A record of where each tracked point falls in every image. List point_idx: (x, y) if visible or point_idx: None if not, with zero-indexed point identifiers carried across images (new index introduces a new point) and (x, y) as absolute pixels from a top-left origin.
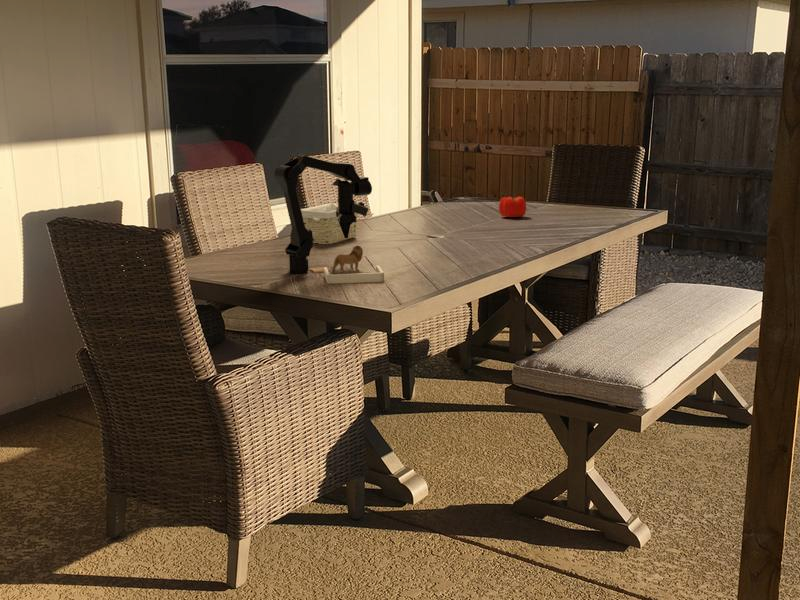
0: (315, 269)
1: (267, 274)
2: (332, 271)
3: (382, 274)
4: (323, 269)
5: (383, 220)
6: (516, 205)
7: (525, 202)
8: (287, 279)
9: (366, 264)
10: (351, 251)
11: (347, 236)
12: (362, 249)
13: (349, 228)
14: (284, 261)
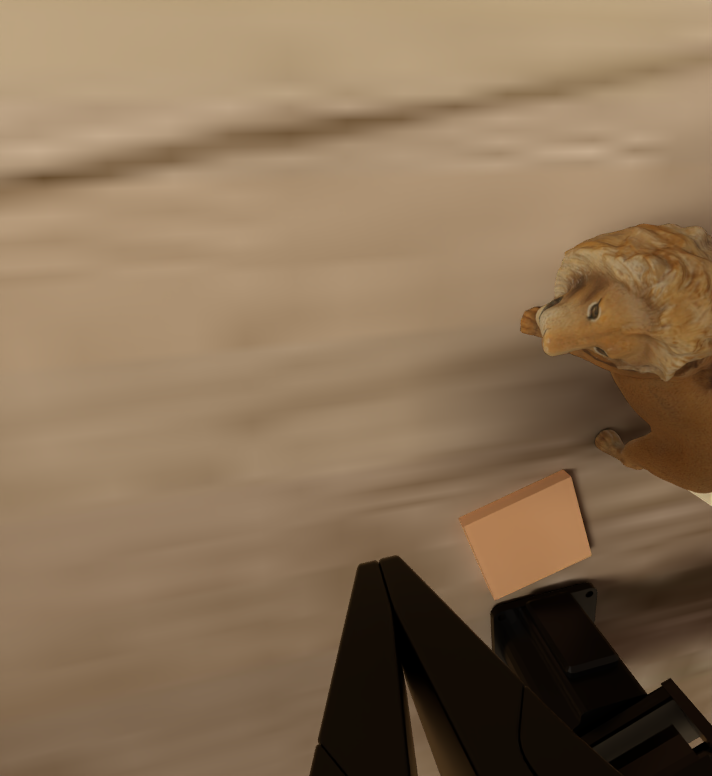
0: (540, 561)
1: None
2: (612, 452)
3: None
4: (548, 517)
5: None
6: None
7: None
8: (705, 626)
9: (288, 195)
10: (686, 376)
11: (417, 578)
12: (702, 228)
13: (571, 733)
14: (208, 764)
